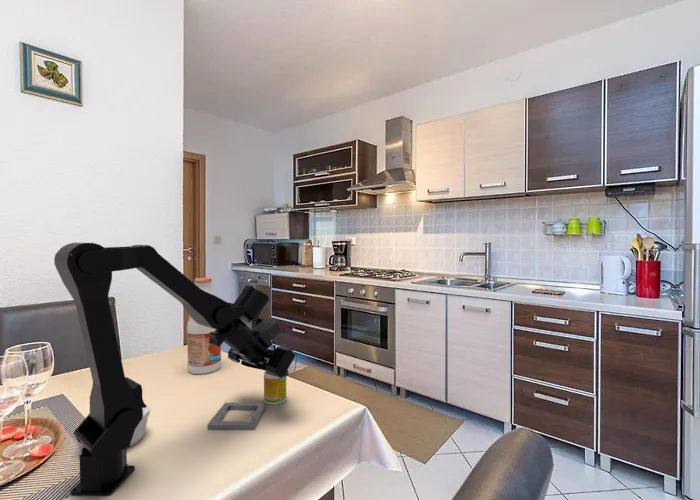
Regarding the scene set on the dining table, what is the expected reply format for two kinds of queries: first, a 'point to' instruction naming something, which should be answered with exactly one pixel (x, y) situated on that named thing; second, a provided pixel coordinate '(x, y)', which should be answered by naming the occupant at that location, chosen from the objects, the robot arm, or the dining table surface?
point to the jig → (237, 425)
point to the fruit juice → (202, 341)
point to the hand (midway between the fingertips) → (279, 372)
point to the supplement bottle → (274, 389)
